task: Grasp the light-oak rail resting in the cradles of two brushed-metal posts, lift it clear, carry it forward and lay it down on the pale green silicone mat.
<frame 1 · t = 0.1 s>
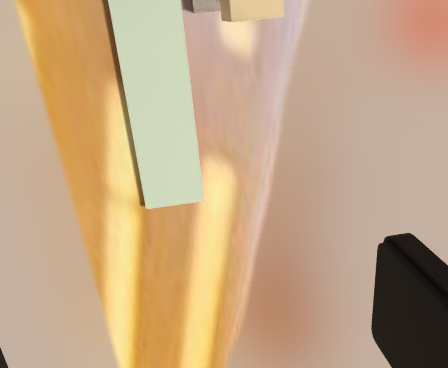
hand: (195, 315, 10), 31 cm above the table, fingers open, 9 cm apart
mat: (158, 92, 38), on the table
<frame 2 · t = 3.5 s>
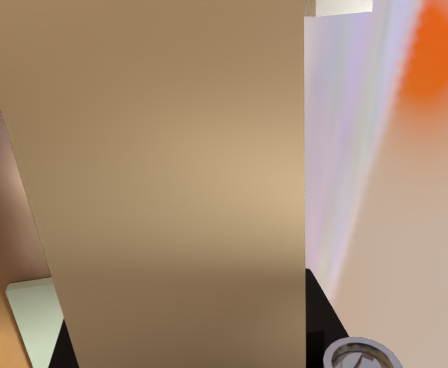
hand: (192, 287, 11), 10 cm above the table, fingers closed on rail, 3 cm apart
rail: (195, 307, 10), point 11 cm above the table, touching gripper, post 1
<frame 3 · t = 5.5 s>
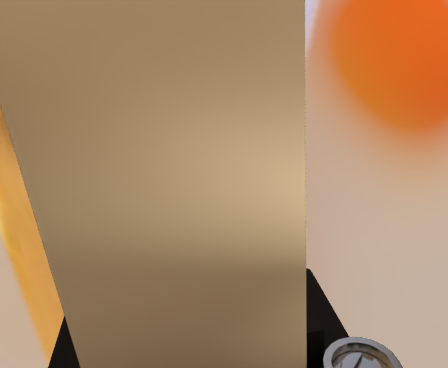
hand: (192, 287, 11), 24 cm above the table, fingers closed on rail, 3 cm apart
rail: (195, 306, 10), point 25 cm above the table, touching gripper
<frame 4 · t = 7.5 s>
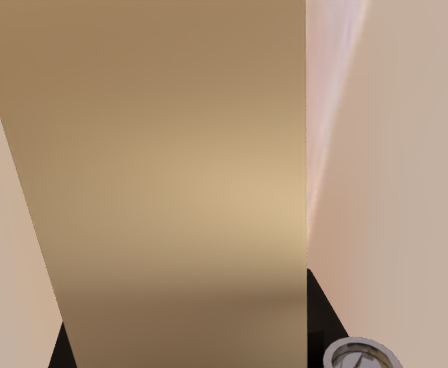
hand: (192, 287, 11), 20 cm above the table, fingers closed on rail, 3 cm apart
rail: (195, 309, 10), point 21 cm above the table, touching gripper
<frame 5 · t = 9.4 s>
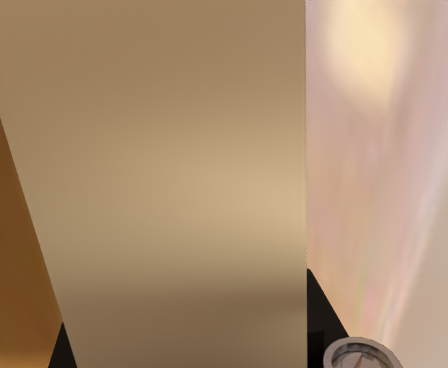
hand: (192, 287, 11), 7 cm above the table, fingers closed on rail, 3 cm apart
rail: (195, 309, 10), point 8 cm above the table, touching gripper
when the fingers open (1 cm above the table, at t = 11.3 s): rail drops 2 cm, resting on mat.
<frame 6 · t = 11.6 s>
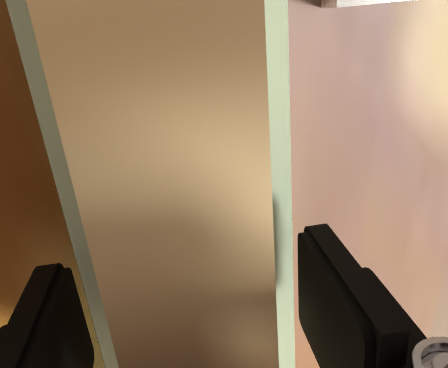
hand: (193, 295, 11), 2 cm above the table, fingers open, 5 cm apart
rail: (190, 265, 12), point 1 cm above the table, touching mat
mat: (189, 256, 12), on the table
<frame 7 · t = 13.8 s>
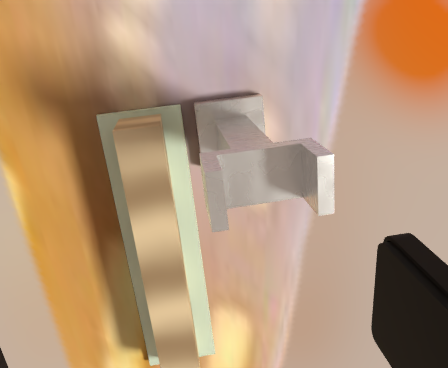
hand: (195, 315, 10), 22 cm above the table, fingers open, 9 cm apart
rail: (163, 249, 33), point 1 cm above the table, touching mat
mat: (163, 246, 34), on the table
post 2: (230, 130, 31), on the table
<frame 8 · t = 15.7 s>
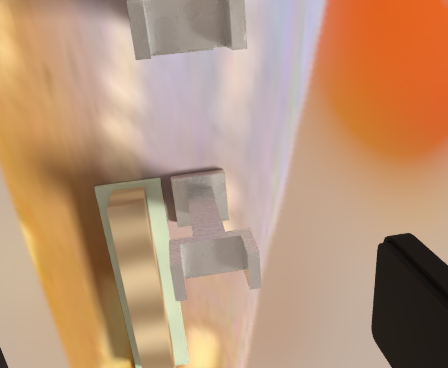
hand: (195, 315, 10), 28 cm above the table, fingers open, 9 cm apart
rail: (147, 285, 42), point 1 cm above the table, touching mat
mat: (147, 282, 43), on the table
post 1: (178, 19, 33), on the table
post 2: (199, 196, 40), on the table
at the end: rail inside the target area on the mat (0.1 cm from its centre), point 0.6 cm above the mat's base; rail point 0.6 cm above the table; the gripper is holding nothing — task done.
